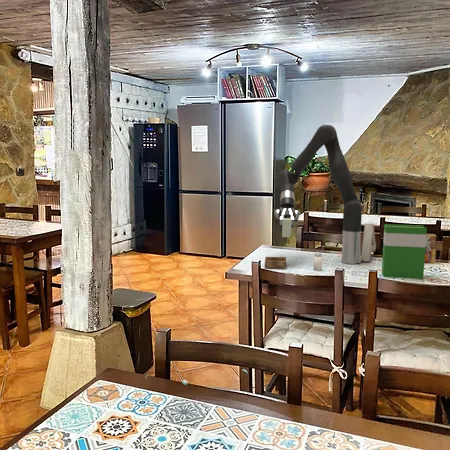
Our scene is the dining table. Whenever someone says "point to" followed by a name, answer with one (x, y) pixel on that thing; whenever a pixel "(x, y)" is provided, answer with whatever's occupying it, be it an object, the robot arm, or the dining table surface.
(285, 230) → the sage block
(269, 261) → the walnut caddy
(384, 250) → the hardback book
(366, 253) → the wall bracket
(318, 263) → the salt shaker
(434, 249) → the candy box
